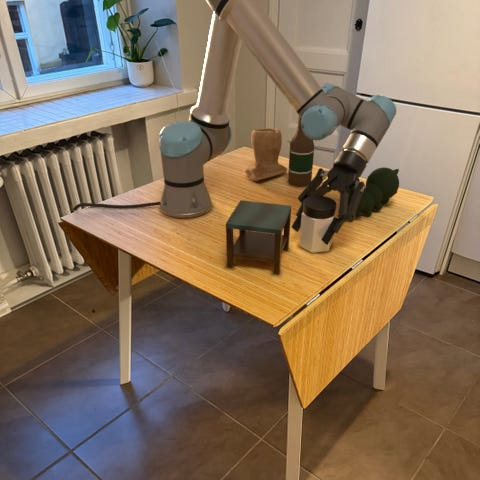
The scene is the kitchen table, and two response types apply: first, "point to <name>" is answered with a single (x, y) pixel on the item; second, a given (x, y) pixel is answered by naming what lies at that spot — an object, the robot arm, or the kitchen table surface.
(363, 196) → the toy figurine
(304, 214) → the jar
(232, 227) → the stand
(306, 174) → the beer bottle
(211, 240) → the kitchen table surface
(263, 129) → the tan piece
